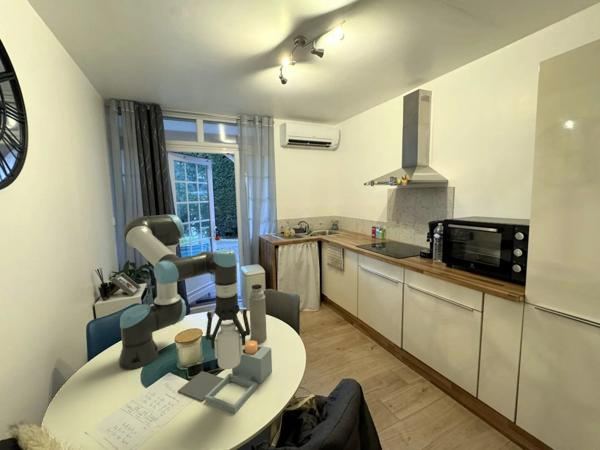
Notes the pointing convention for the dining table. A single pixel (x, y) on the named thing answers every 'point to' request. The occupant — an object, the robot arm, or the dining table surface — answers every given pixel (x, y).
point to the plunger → (251, 347)
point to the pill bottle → (228, 345)
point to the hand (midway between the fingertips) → (229, 354)
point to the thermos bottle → (257, 314)
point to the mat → (200, 385)
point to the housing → (244, 377)
